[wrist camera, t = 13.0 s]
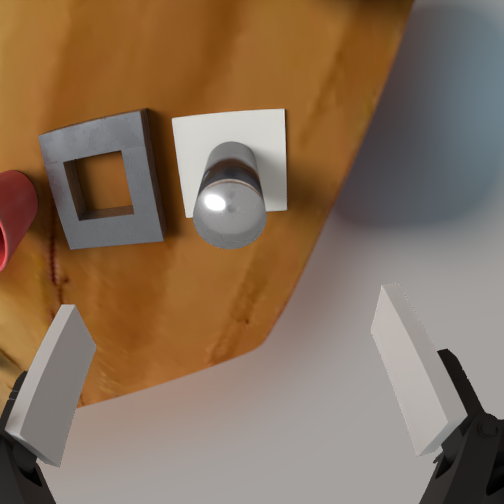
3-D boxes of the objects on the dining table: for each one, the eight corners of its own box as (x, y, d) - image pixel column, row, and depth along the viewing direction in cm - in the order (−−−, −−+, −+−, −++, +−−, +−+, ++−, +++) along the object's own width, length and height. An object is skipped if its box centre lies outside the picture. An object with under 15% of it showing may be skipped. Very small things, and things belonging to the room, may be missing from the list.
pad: (172, 118, 29) (171, 118, 29) (283, 108, 29) (284, 109, 29) (186, 216, 35) (186, 217, 35) (286, 208, 35) (286, 210, 35)
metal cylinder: (204, 143, 31) (187, 187, 20) (254, 139, 31) (264, 180, 20) (209, 189, 33) (198, 251, 23) (257, 185, 33) (267, 246, 23)
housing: (49, 130, 28) (38, 136, 26) (146, 107, 29) (139, 111, 26) (78, 239, 36) (70, 249, 34) (167, 230, 36) (163, 241, 34)
